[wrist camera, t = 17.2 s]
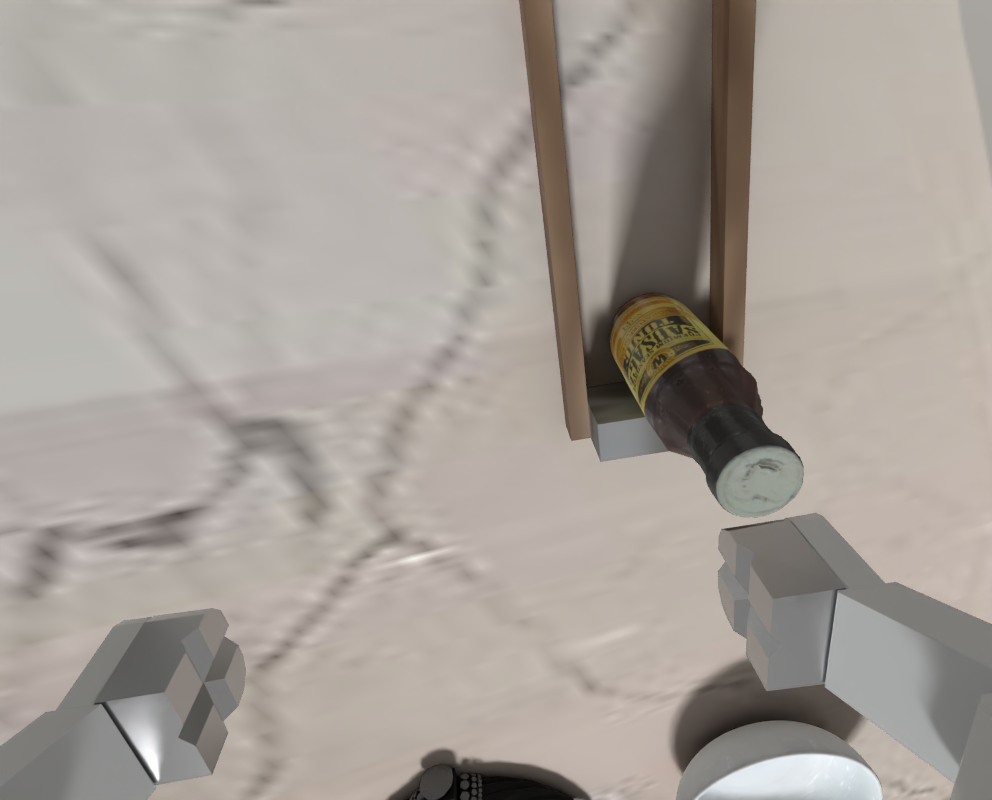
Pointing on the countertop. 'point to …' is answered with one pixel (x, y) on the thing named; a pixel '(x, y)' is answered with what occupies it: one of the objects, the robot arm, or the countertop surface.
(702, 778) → the serving bowl
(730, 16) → the walnut track
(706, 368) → the sauce bottle
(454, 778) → the ring
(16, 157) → the countertop surface
